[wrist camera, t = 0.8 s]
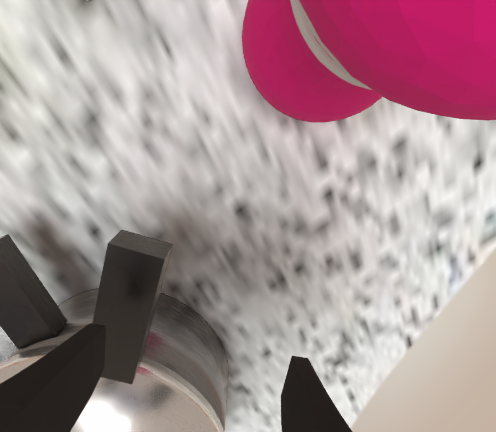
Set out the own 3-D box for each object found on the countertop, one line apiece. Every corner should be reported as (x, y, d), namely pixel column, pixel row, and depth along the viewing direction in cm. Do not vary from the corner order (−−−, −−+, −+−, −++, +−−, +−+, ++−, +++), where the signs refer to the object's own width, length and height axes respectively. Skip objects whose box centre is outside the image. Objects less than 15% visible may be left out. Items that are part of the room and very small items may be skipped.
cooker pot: (114, 484, 30) (83, 573, 24) (-61, 259, 23) (-163, 310, 17) (271, 436, 28) (276, 521, 22) (132, 176, 21) (90, 203, 15)
